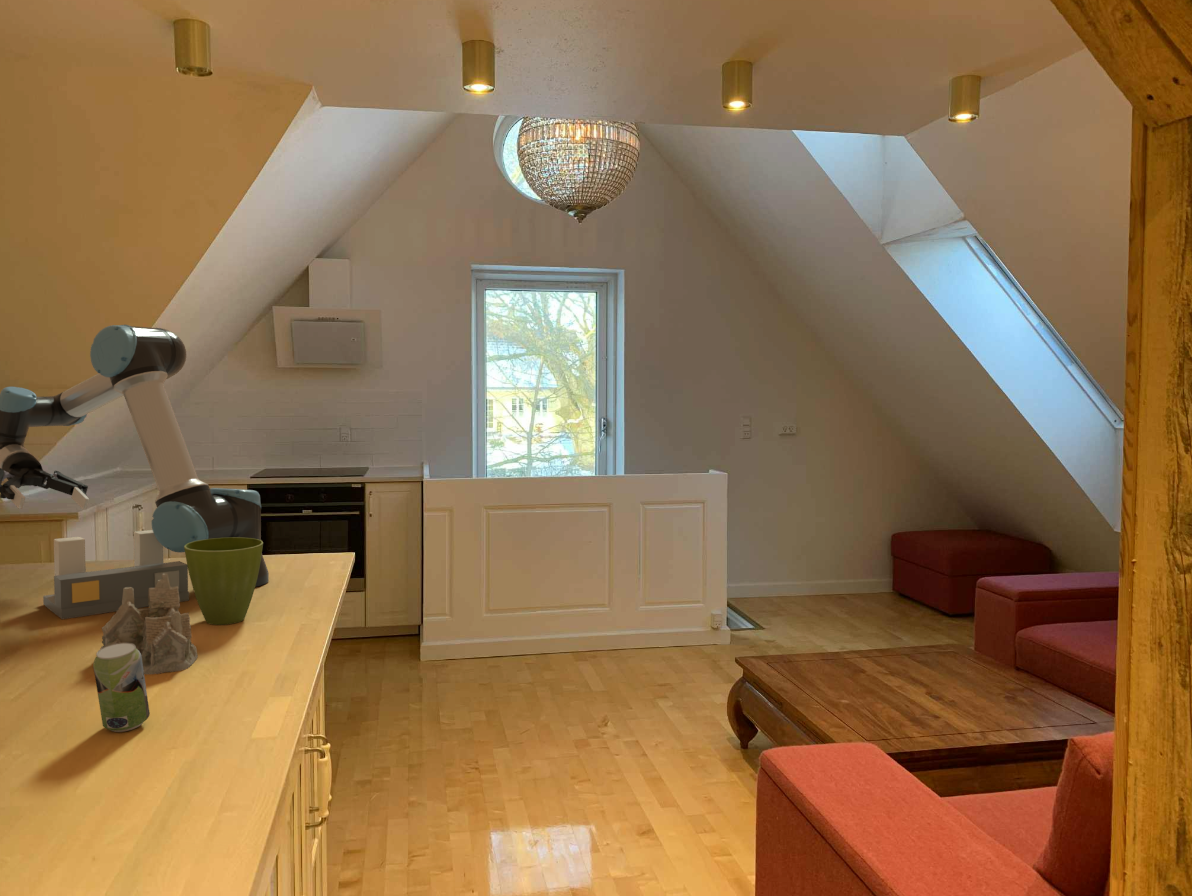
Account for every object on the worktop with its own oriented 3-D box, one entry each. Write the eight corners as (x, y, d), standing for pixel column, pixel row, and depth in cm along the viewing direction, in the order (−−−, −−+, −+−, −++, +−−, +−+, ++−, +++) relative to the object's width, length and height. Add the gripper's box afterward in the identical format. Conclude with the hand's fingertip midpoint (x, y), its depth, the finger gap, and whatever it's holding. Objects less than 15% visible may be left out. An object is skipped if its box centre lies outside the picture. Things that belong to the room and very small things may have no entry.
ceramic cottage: (100, 651, 162) (101, 570, 160) (199, 647, 168) (202, 569, 166) (85, 685, 148) (86, 596, 146) (194, 679, 154) (197, 594, 152)
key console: (43, 604, 194) (42, 568, 193) (165, 588, 211) (165, 554, 210) (61, 619, 183) (61, 580, 182) (188, 600, 200) (188, 565, 200)
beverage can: (158, 719, 131) (157, 639, 130) (127, 739, 124) (126, 654, 123) (118, 717, 132) (116, 637, 131) (84, 736, 125) (83, 652, 124)
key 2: (134, 583, 205) (133, 531, 204) (157, 580, 209) (157, 529, 208) (140, 586, 202) (139, 534, 202) (163, 583, 206) (163, 531, 205)
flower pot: (235, 633, 176) (235, 552, 175) (168, 627, 179) (167, 548, 178) (277, 614, 191) (277, 539, 189) (214, 609, 194) (214, 535, 192)
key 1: (55, 593, 194) (53, 539, 193) (80, 590, 198) (79, 536, 197) (59, 597, 191) (58, 541, 191) (86, 593, 195) (84, 539, 194)
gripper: (69, 482, 226) (106, 518, 214) (-45, 478, 205) (-12, 518, 193) (77, 454, 224) (115, 490, 213) (-38, 448, 204) (-3, 486, 192)
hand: (55, 503), depth 203 cm, fingers open, 13 cm apart
